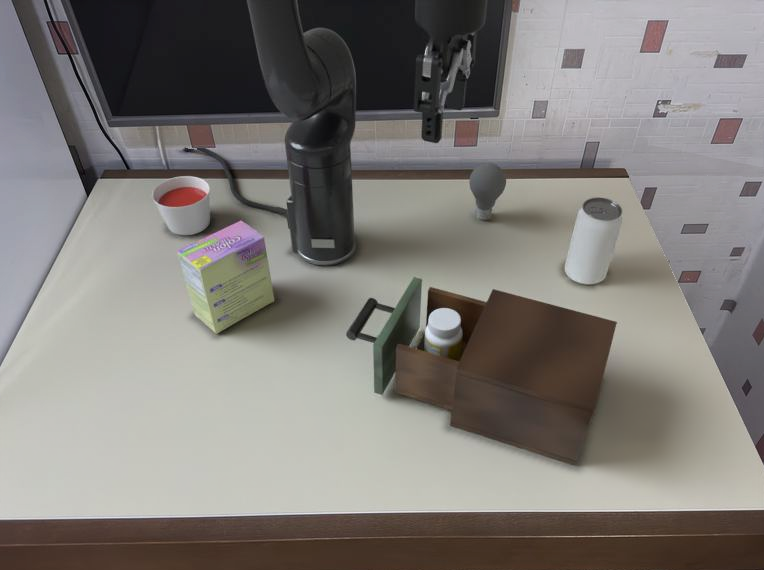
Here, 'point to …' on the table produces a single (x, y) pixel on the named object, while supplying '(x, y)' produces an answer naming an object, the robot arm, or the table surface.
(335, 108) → the robot arm
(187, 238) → the table surface
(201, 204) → the candle
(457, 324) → the supplement bottle
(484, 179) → the light bulb
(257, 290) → the box
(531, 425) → the cabinet
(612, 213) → the can
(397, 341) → the drawer
